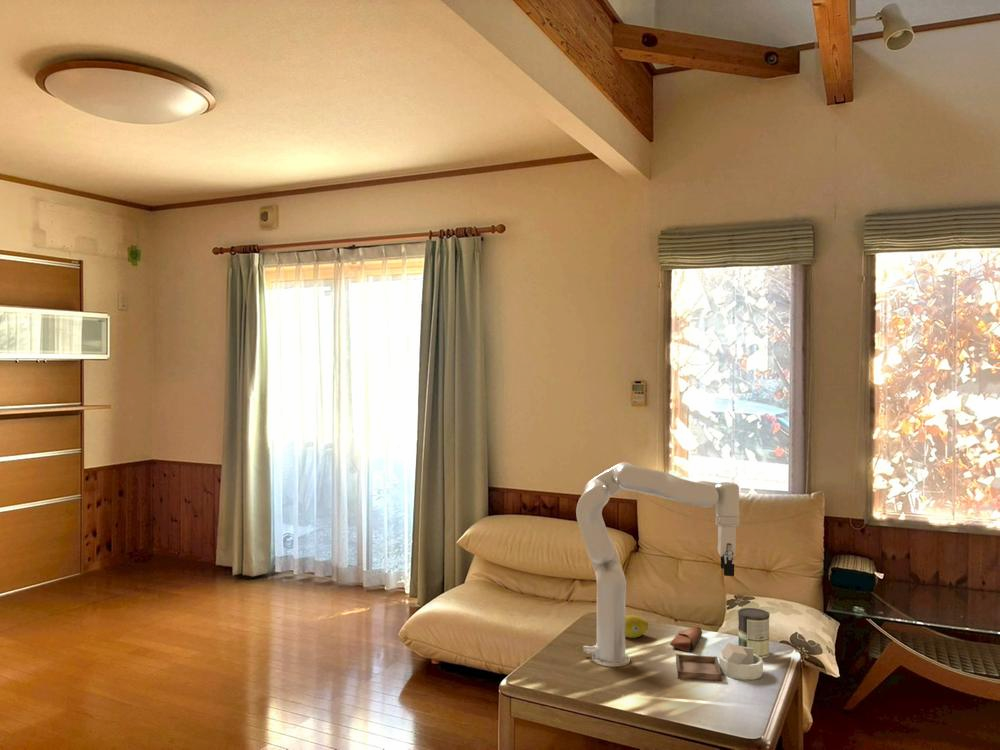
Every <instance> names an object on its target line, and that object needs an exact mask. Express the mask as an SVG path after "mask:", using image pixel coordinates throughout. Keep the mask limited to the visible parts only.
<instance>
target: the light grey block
mask: <svg viewBox="0 0 1000 750" xmlns="http://www.w3.org/2000/svg"><path fill="white" fill-rule="evenodd" d="M742 648H743V649H744V651H745V652H746V654H747V656H746V657H745V659H744V660H743V661H742V662H741V664H746V665H749V664H754V656H753V648H752V647H742Z"/></svg>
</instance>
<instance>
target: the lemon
mask: <svg viewBox="0 0 1000 750" xmlns="http://www.w3.org/2000/svg"><path fill="white" fill-rule="evenodd" d="M648 628H649V622H648V621H646V620H644V619H643V618H642V617H640V616H638V615H632V614H631V615H625V638H626V639H627V638H628V639H637V637H638V638H640V637H641V636H643V635H644V634H645V632H646V631H647V630H648Z"/></svg>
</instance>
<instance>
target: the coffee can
mask: <svg viewBox="0 0 1000 750" xmlns="http://www.w3.org/2000/svg"><path fill="white" fill-rule="evenodd" d="M737 614H738V618H737V619H738V621H737V625H738V646H742V647H752V648H753V654H755V655H757V656H759V657H761V658H762V659H766V658H768V657H770V612H768V611H766V610H765V609H760V608H755V607H754V608H753V607H752V608H751V607H745V608H740V609H739V610H738V611H737Z"/></svg>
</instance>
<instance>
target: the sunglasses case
mask: <svg viewBox="0 0 1000 750" xmlns="http://www.w3.org/2000/svg"><path fill="white" fill-rule="evenodd" d="M702 636H703V631H702V628H701V627H700V626H691V627H689V628H685V629H680V630H679V631H678V633H677V634H675V636H674V638H672V640H671V641H670V642H669V645H670V646H672V647H674V648H676V649H678V650H681V651H683V652H684V651H685V652H688V653H691V652H692V651H694V649H695V647H696V645H697V644H698V642H699V641H700V639H701V638H702Z"/></svg>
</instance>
